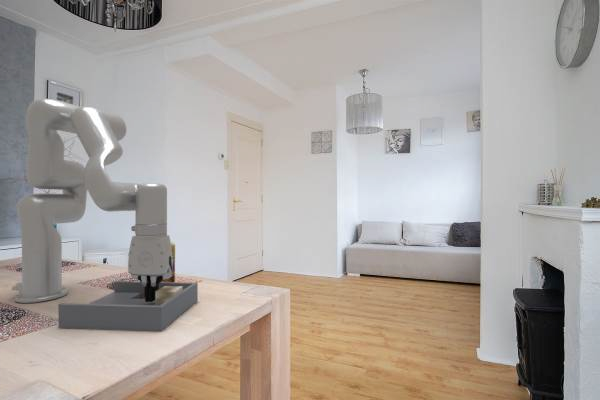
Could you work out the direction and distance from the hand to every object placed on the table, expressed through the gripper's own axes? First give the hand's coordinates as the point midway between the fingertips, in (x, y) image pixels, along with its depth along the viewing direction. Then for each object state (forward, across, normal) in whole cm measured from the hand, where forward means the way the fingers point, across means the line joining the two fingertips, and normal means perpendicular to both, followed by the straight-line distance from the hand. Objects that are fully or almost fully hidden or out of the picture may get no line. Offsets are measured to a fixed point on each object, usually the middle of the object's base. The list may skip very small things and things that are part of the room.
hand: (151, 300), depth 84 cm
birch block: (+1, +5, 0) cm, 5 cm away
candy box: (+4, -9, +21) cm, 23 cm away
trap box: (+4, -5, 0) cm, 6 cm away
